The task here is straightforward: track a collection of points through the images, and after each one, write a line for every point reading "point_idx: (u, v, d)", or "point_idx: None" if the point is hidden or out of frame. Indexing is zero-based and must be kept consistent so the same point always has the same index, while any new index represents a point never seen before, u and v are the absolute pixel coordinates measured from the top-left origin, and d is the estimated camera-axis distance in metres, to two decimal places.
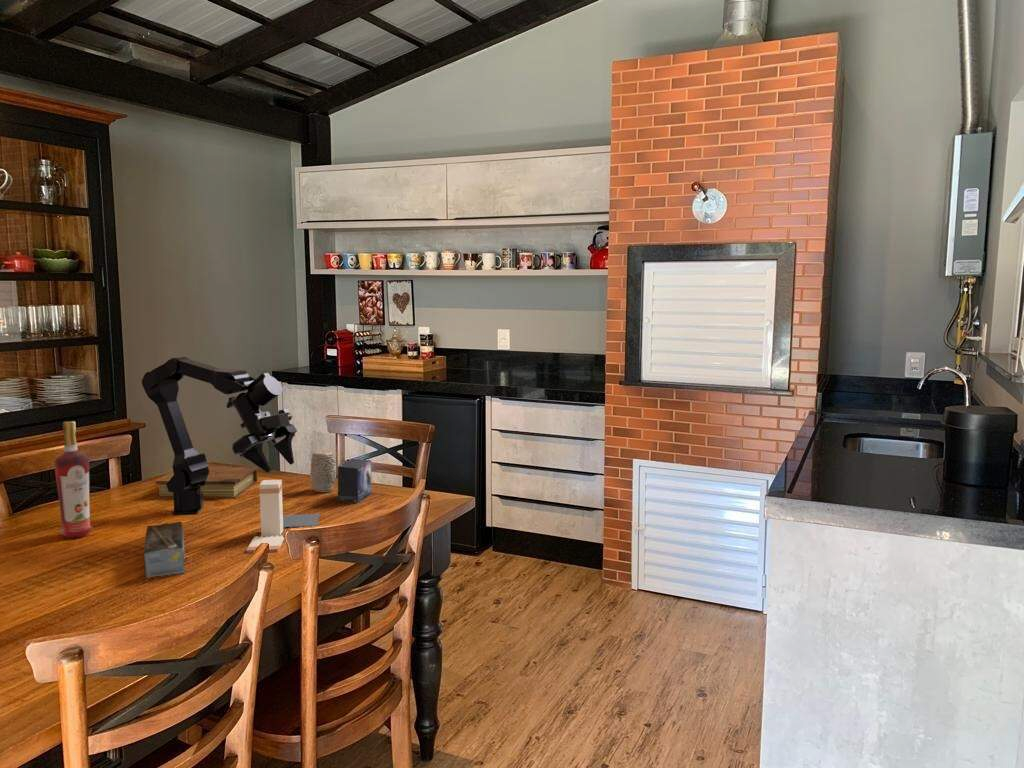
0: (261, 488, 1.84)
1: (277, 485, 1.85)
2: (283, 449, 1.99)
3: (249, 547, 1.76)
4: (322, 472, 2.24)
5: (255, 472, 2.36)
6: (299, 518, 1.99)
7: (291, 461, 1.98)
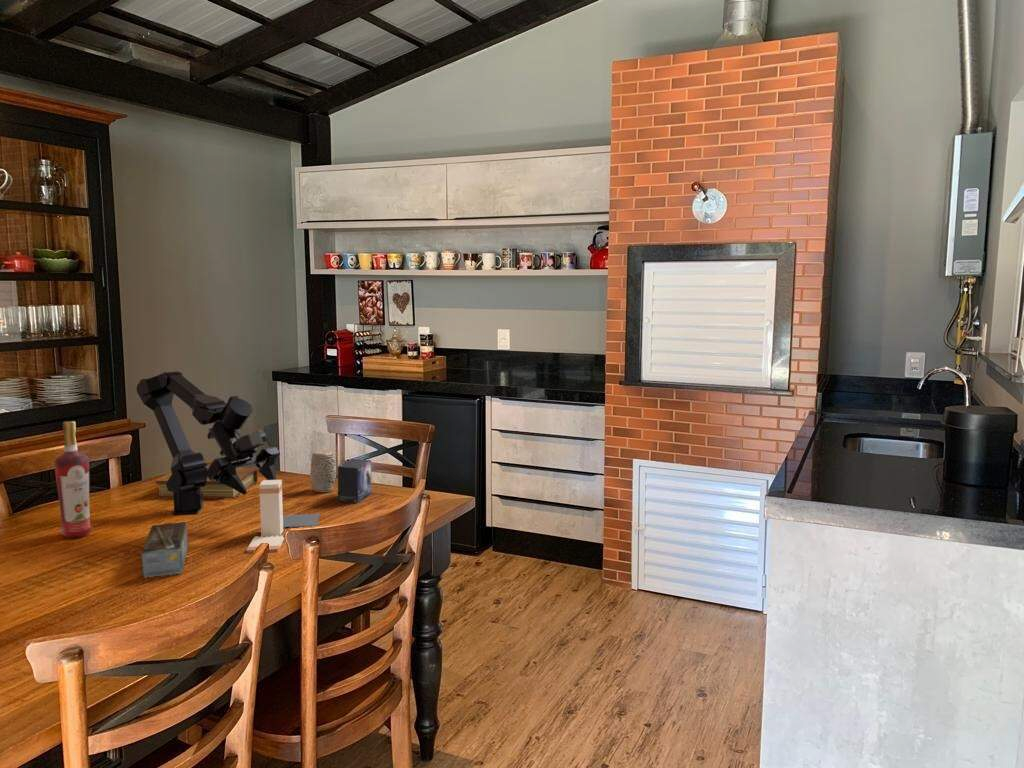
0: (261, 488, 1.84)
1: (277, 485, 1.85)
2: (267, 472, 1.95)
3: (249, 547, 1.76)
4: (322, 472, 2.24)
5: (255, 472, 2.36)
6: (299, 518, 1.99)
7: None
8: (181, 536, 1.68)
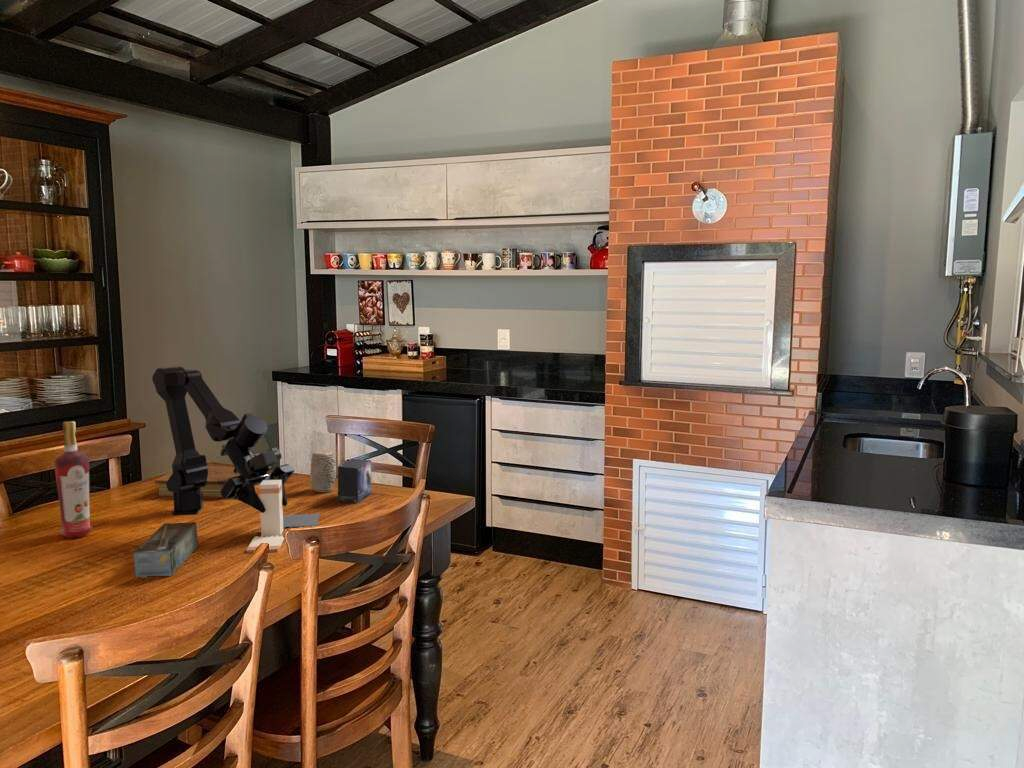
0: (261, 488, 1.84)
1: (277, 485, 1.85)
2: None
3: (249, 547, 1.76)
4: (322, 472, 2.24)
5: None
6: (299, 518, 1.99)
7: (284, 502, 1.90)
8: (180, 537, 1.67)
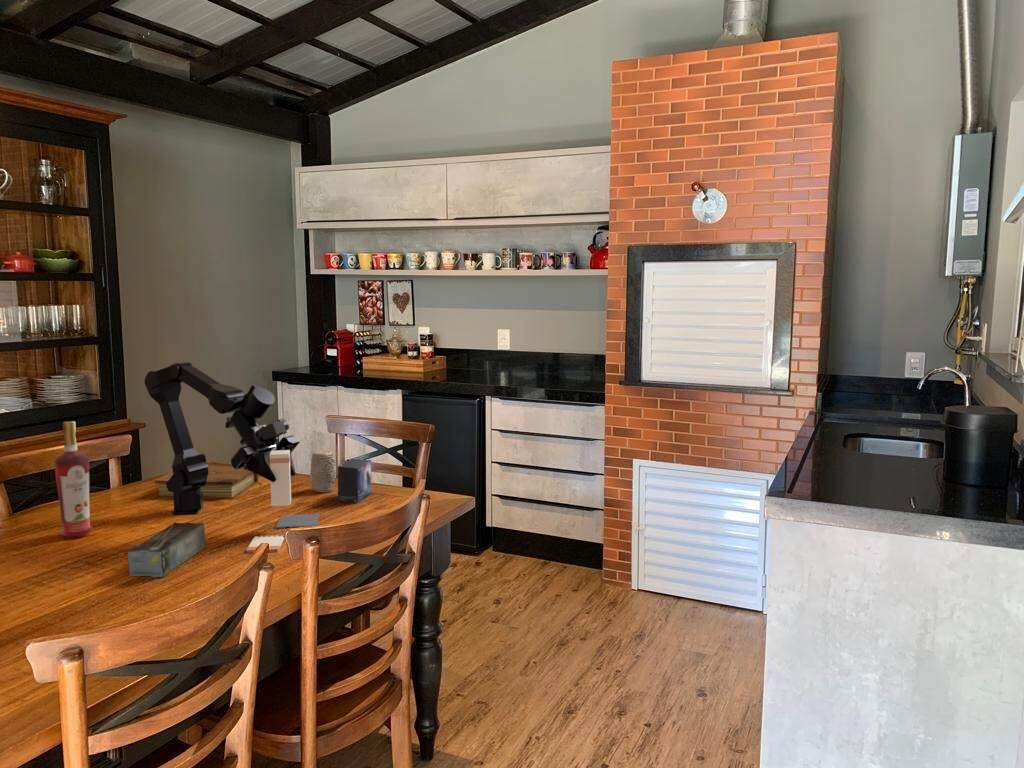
0: (271, 458, 1.86)
1: (287, 455, 1.87)
2: None
3: (249, 547, 1.76)
4: (322, 472, 2.24)
5: None
6: (299, 518, 1.99)
7: (292, 472, 1.92)
8: (179, 538, 1.67)
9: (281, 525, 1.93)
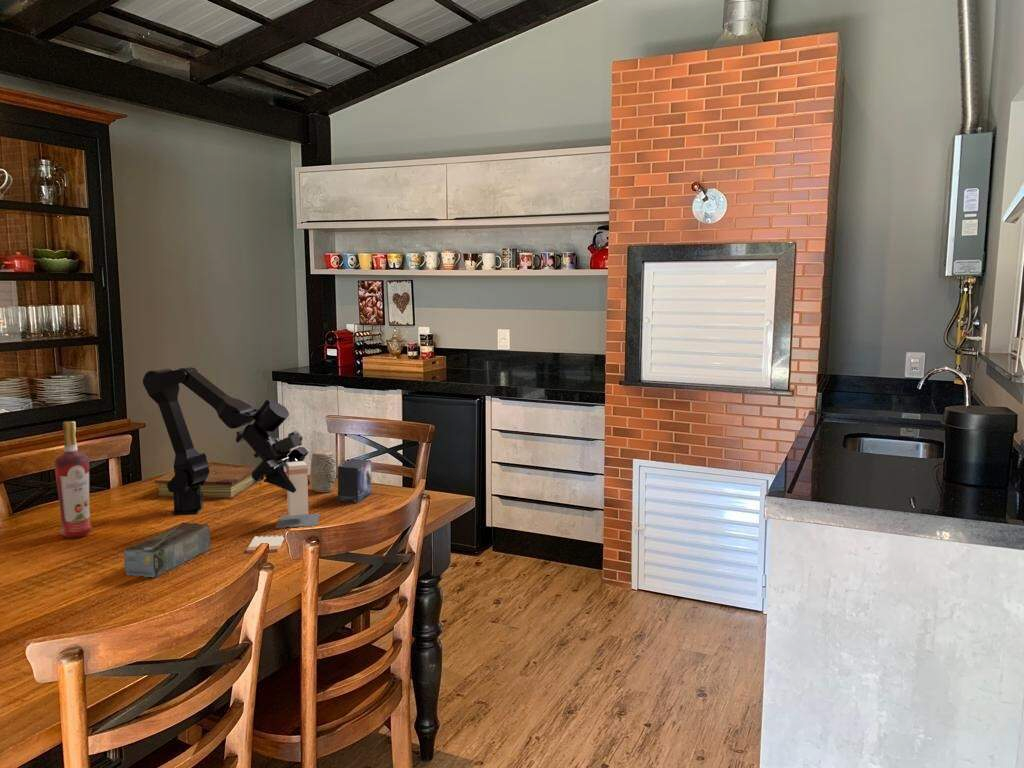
0: (291, 469, 1.93)
1: (306, 465, 1.95)
2: None
3: (249, 547, 1.76)
4: (322, 472, 2.24)
5: None
6: (299, 518, 1.99)
7: None
8: (177, 539, 1.66)
9: (281, 525, 1.93)
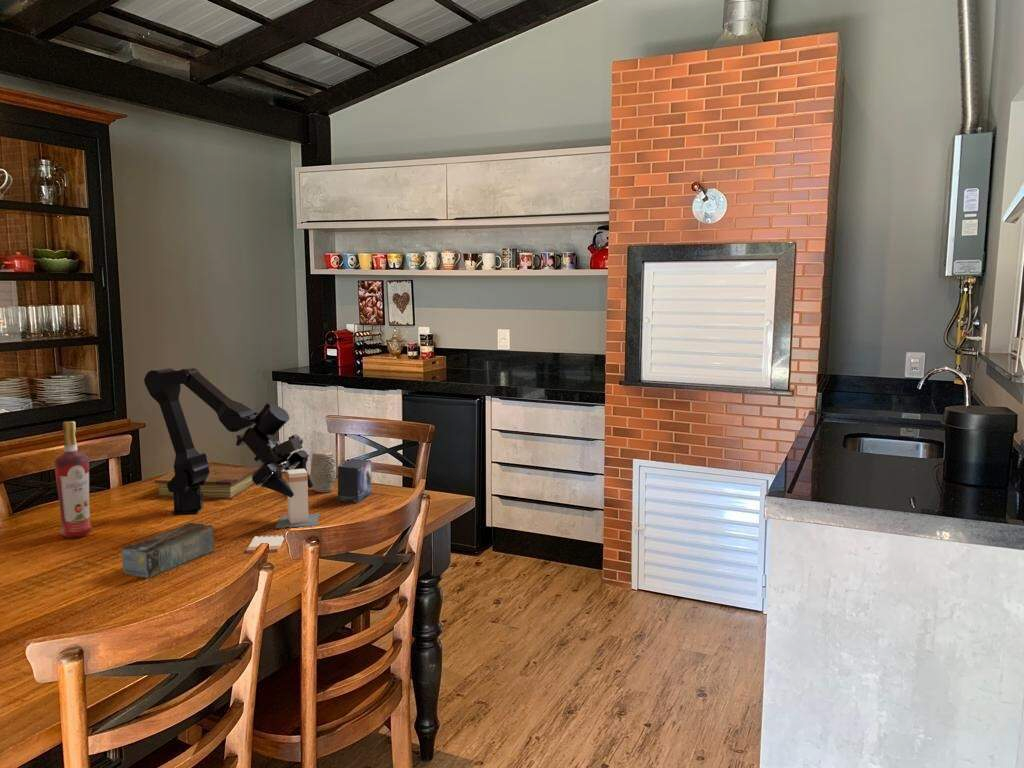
0: (291, 477, 1.94)
1: (306, 473, 1.95)
2: None
3: (249, 547, 1.76)
4: (322, 472, 2.24)
5: None
6: None
7: (310, 484, 2.01)
8: (175, 540, 1.66)
9: (281, 525, 1.93)
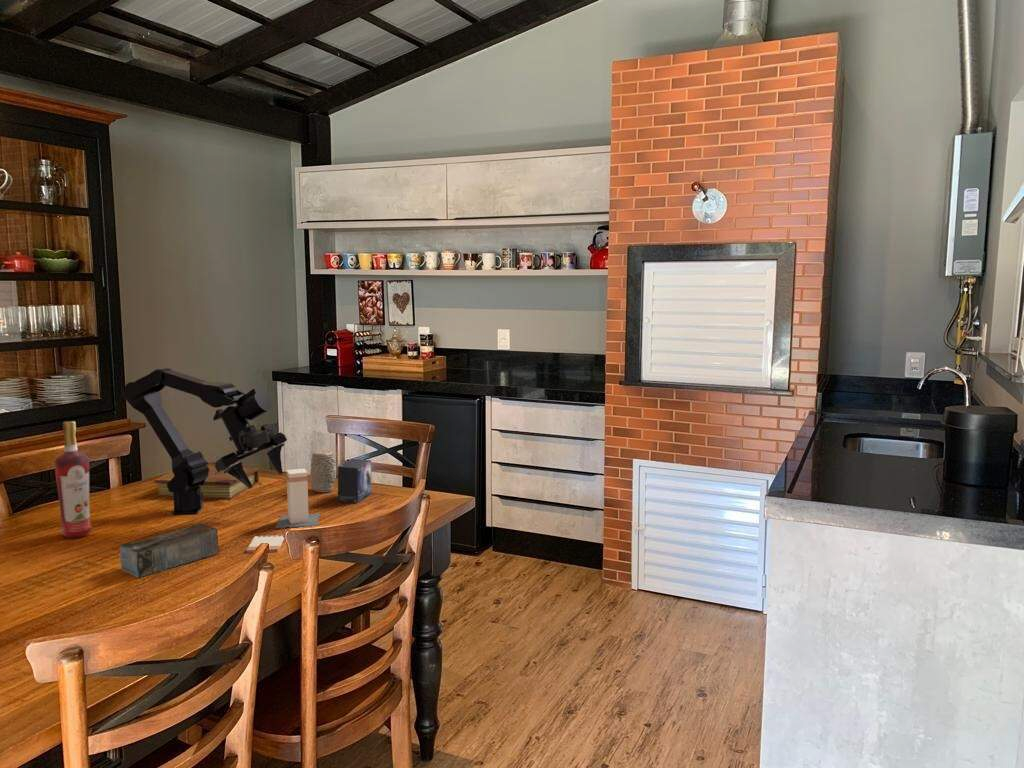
0: (291, 477, 1.94)
1: (306, 473, 1.95)
2: (273, 458, 2.03)
3: (249, 547, 1.76)
4: (322, 472, 2.24)
5: (256, 473, 2.35)
6: None
7: (279, 471, 2.02)
8: (171, 541, 1.65)
9: (281, 525, 1.93)
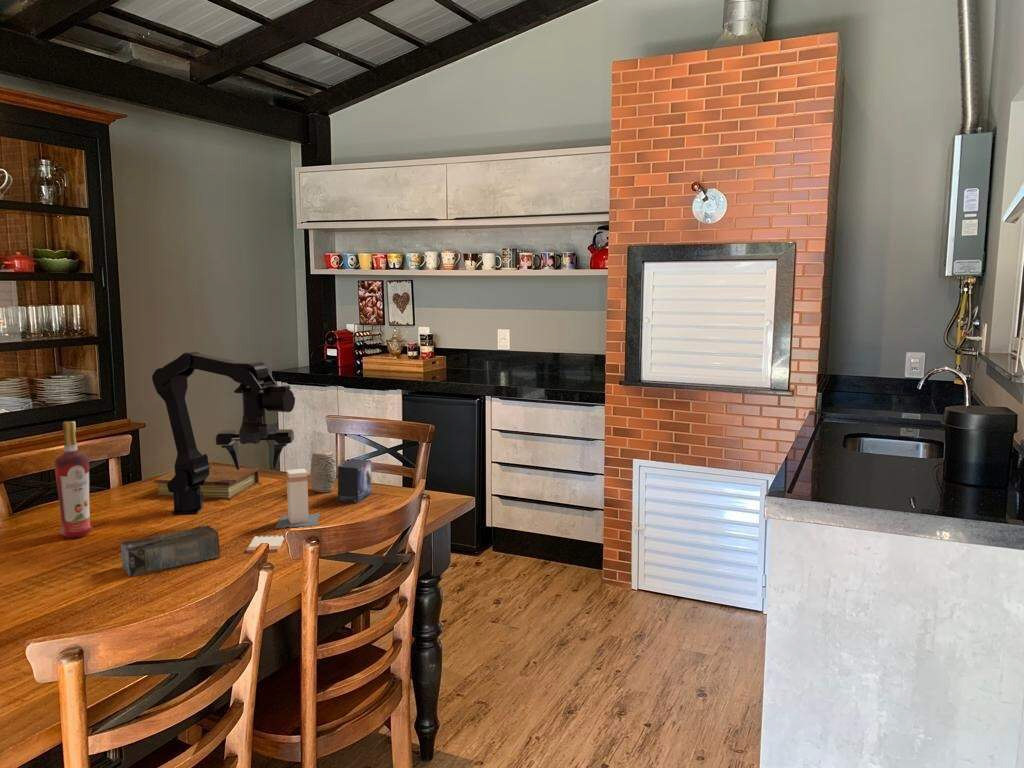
0: (291, 477, 1.94)
1: (306, 473, 1.95)
2: None
3: (249, 547, 1.76)
4: (322, 472, 2.24)
5: (256, 473, 2.35)
6: None
7: None
8: (167, 542, 1.64)
9: (281, 525, 1.93)
